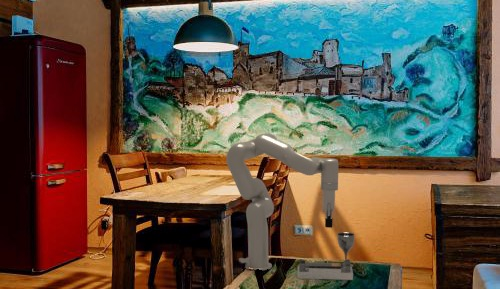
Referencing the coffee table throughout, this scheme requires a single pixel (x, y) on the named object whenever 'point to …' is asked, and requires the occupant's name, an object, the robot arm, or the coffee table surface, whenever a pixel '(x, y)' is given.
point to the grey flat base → (325, 272)
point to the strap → (324, 265)
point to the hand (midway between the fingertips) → (328, 227)
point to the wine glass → (345, 243)
